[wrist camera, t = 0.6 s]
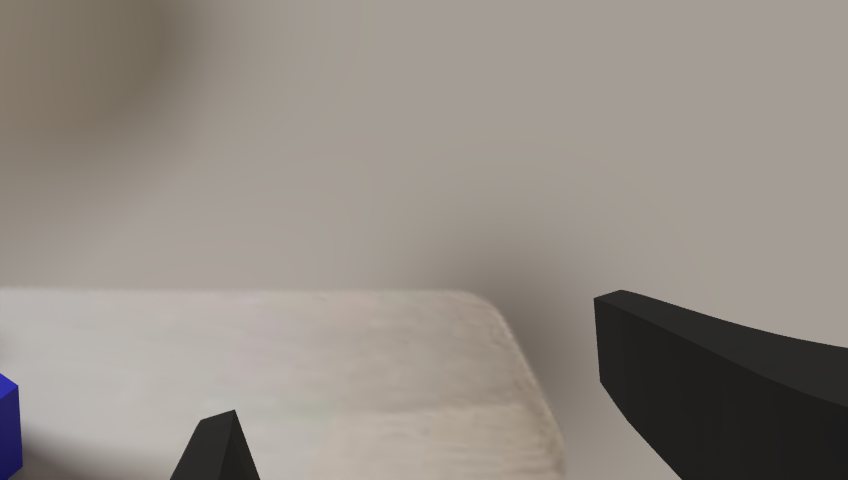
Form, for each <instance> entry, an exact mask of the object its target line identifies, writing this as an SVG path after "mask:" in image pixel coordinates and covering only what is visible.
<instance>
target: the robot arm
mask: <svg viewBox="0 0 848 480" xmlns="http://www.w3.org/2000/svg"><path fill="white" fill-rule="evenodd" d="M594 309H595V322H596V335H597V347H598V360H599V373H600V382H601V383H602V385H603V386H604V388H605V389H606V391H607V392H608V394H609V395H610V397H611V398H612V399H613V401H614V402H615V404H616V405H617V407H618V408H619V410H620V411H621V412H622V414H623V415H624V416H625V418H626V419H627V421H628V422H629V423H630V424H631V425H632V426H633V427H634V428H635V430H636V431H637V432H638V433H639V434H640V435H641V436H642V437H643V438H644V439H645V440H646V441H647V443H648V444H649V445H650V446H651V447H652V448H653V449H654V450H655V451H656V453H657V454H658V455H659V456H660V457H661V458H662V459H663V460H664V461H665V462H666V463H667V464H668V465H669V466H670V467H671V468H672V470H673V471H674V472H675V473H676V474H677V475H678V476H679V477H680V478H681V479H682V480H848V348H844V347H838V346H832V345H827V344H822V343H816V342H811V341H806V340H801V339H796V338H791V337H787V336H782V335H778V334H774V333H770V332H765V331H761V330H758V329H754V328H750V327H746V326H742V325H739V324H735V323H732V322H728V321H724V320H721V319H718V318H715V317H711V316H708V315H705V314H701V313H698V312H695V311H692V310H689V309H685V308H682V307H679V306H676V305H673V304H670V303H667V302H663V301H660V300H657V299H653V298H650V297H647V296H644V295H640V294H637V293H633V292H629V291H625V290H618V291H615V292H612V293H609V294H605V295H602V296H599V297H596V298H594ZM170 480H260V478H259V475H258V472H257V470H256V467H255V464H254V461H253V459H252V456H251V453H250V450H249V448H248V445H247V442H246V439H245V436H244V434H243V431H242V428H241V425H240V423H239V420H238V417H237V414H236V412H235V410H232V411H228V412H225V413H222V414H219V415H215V416H212V417H209V418H206V419H203V420H201V421H200V422H199V424H198V425H197V427H196V429H195V431H194V433H193V435H192V437H191V439H190V441H189V443H188V445H187V447H186V449H185V451H184V453H183V455H182V457H181V459H180V461H179V463H178V465H177V467H176V469H175V471H174V473H173V475H172V476H171V478H170Z"/></svg>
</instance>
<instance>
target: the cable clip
mask: <svg viewBox="0 0 848 480" xmlns="http://www.w3.org/2000/svg"><path fill="white" fill-rule="evenodd" d="M22 466H23V461H22V444H21V426H20V409H19V391H18V385H16V384H15V383H14V382H12V381H11V380H9V379H8V378H6V377H5V376H4V375H2V374H1V373H0V480H7V479H8V478H10V477H11V476H12V475H13V474H14V473H15V472H17V471H18V470H19V469H20V468H21V467H22Z"/></svg>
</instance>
